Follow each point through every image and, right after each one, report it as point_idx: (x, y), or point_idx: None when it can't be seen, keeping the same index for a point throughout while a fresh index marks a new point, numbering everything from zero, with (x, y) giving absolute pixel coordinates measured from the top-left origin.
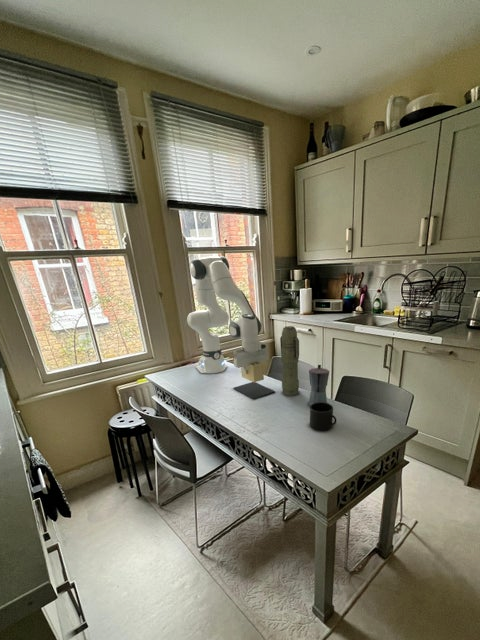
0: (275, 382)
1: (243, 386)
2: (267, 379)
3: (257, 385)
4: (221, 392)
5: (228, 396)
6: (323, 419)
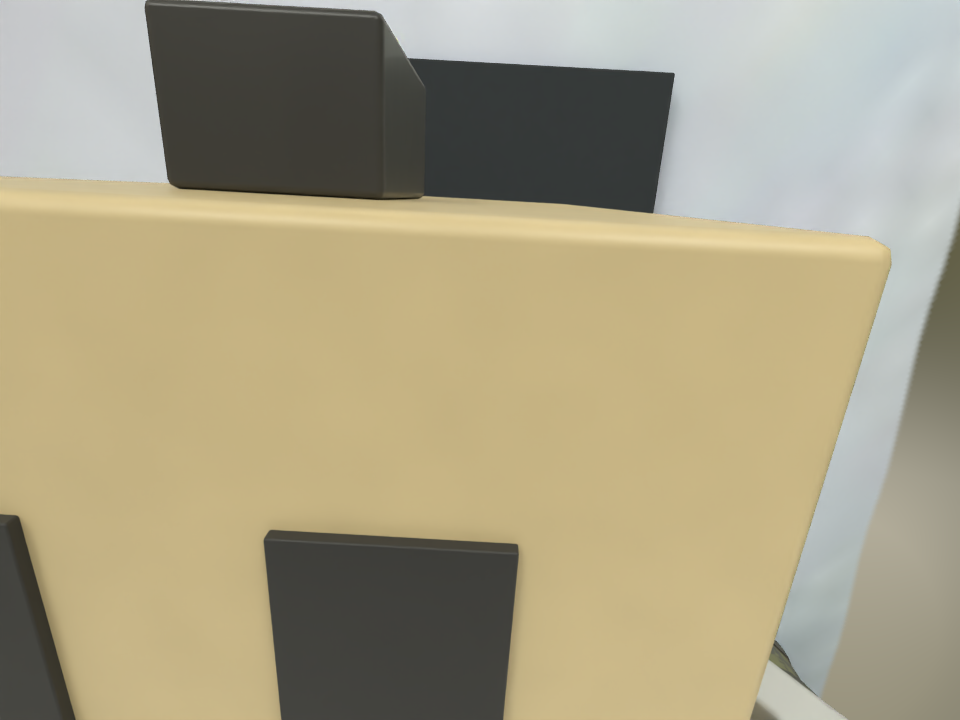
0: (884, 337)
1: None
2: (939, 125)
3: None
4: (5, 30)
5: None
6: None
